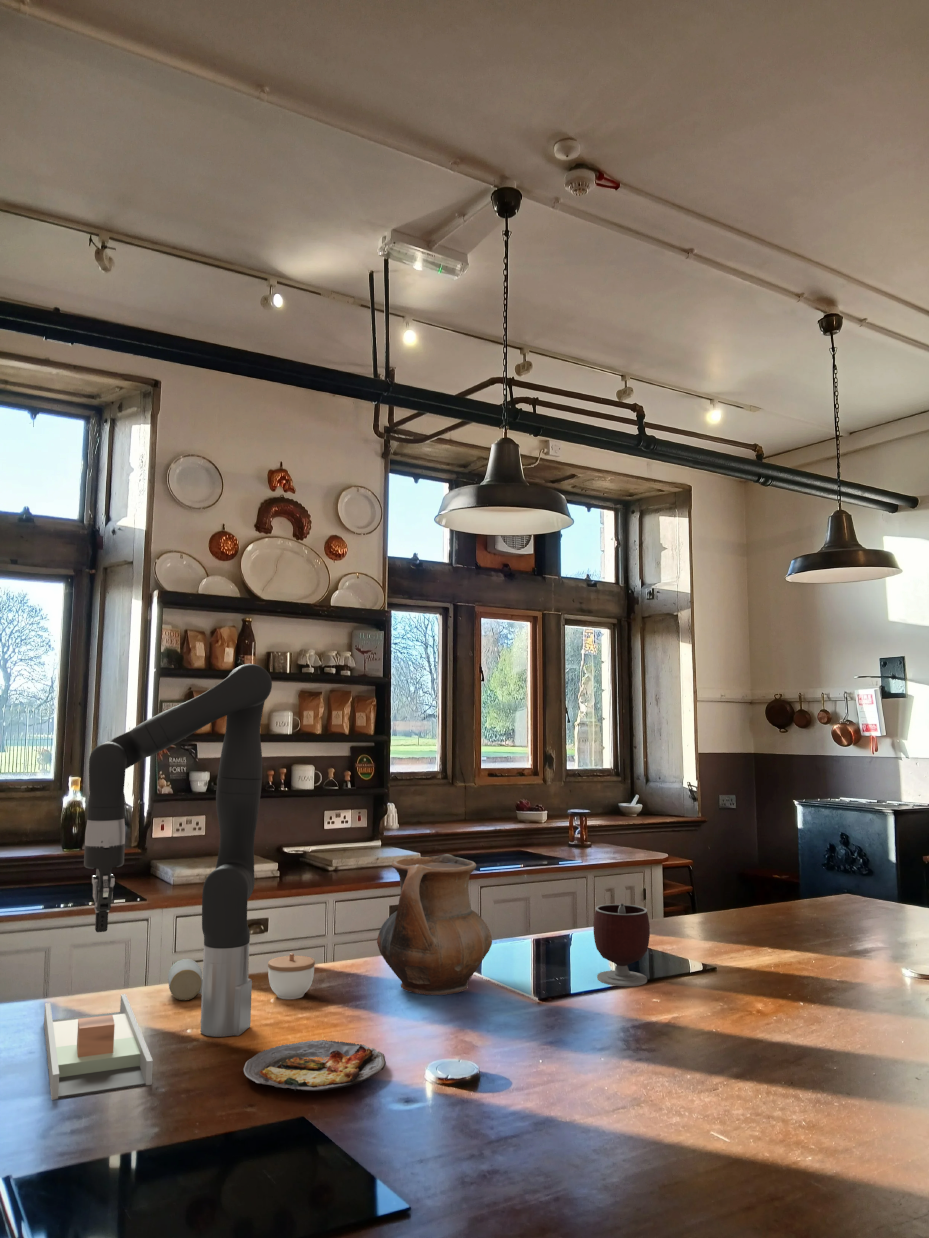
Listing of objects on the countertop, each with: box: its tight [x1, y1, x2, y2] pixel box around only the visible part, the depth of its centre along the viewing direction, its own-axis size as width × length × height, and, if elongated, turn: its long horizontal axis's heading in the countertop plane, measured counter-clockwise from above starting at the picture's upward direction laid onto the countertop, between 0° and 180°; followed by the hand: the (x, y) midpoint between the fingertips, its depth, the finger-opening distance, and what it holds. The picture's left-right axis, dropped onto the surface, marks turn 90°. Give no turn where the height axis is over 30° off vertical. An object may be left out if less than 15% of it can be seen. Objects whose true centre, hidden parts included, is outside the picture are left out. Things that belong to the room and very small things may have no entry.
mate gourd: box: [593, 902, 651, 987], centre depth 231 cm, size 16×14×20 cm
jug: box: [376, 853, 493, 996], centre depth 226 cm, size 32×28×30 cm
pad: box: [56, 1037, 140, 1077], centre depth 171 cm, size 10×14×2 cm
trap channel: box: [43, 993, 154, 1101], centre depth 178 cm, size 44×16×4 cm, turn 26°
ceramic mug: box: [167, 958, 203, 1001], centre depth 214 cm, size 11×8×8 cm
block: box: [77, 1015, 115, 1057], centre depth 171 cm, size 6×6×5 cm
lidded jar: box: [267, 952, 316, 1000], centre depth 215 cm, size 11×11×9 cm
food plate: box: [243, 1039, 387, 1092], centre depth 167 cm, size 25×23×4 cm
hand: (101, 931), depth 184 cm, fingers closed
